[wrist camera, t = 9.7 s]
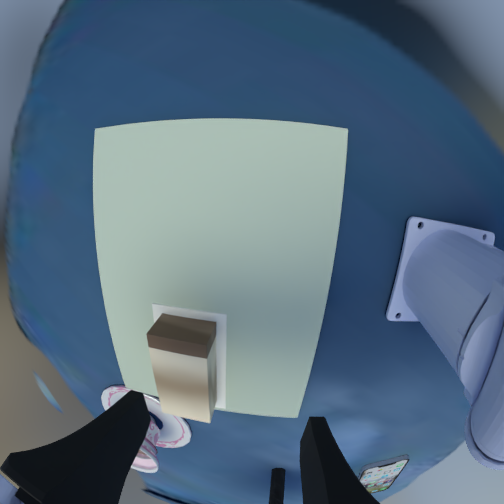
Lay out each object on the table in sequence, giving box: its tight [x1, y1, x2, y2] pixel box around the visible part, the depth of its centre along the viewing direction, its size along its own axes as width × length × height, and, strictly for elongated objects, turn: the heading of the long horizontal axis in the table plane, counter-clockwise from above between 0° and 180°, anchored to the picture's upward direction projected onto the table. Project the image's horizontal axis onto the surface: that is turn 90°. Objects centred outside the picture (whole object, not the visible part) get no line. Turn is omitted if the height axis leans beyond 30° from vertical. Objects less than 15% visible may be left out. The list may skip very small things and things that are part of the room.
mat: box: [93, 119, 348, 418], centre depth 20 cm, size 18×25×1 cm
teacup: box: [101, 385, 192, 473], centre depth 23 cm, size 12×12×6 cm
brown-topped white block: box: [146, 313, 217, 423], centre depth 20 cm, size 9×4×3 cm, turn 176°
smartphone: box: [358, 455, 409, 494], centre depth 27 cm, size 7×1×15 cm
